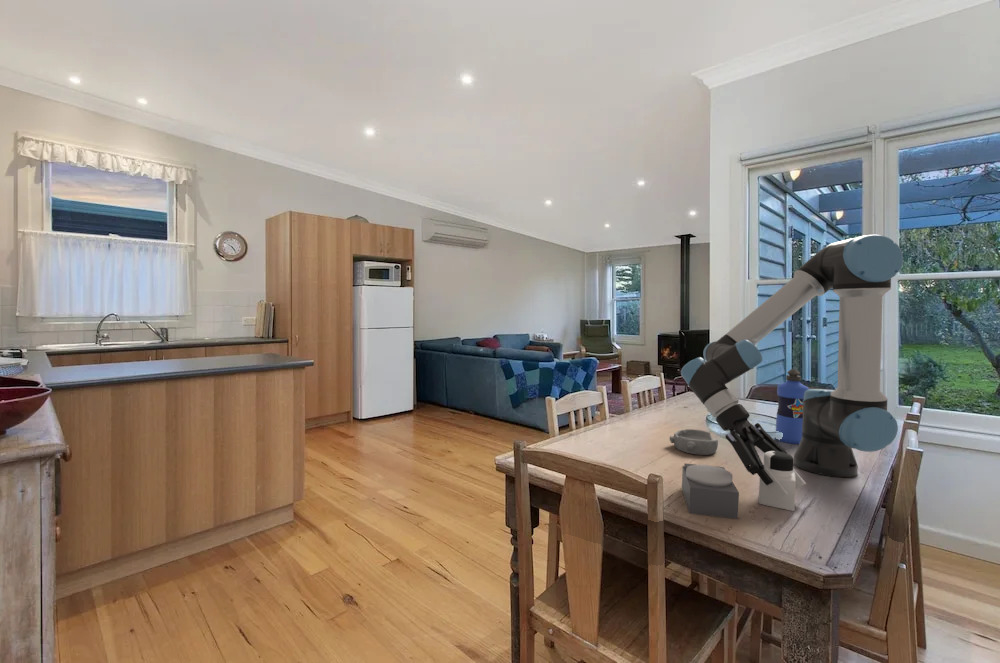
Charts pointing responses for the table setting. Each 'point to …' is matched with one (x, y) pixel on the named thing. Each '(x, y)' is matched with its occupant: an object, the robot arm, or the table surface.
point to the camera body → (709, 491)
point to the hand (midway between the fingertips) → (791, 491)
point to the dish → (694, 442)
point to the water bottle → (790, 408)
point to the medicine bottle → (784, 474)
